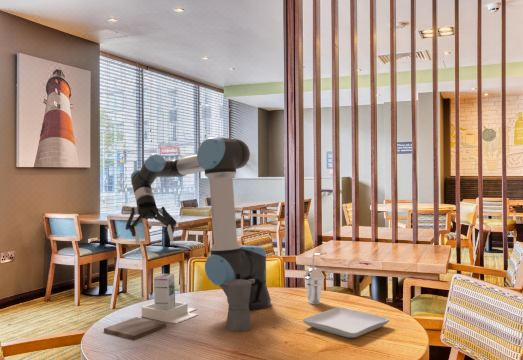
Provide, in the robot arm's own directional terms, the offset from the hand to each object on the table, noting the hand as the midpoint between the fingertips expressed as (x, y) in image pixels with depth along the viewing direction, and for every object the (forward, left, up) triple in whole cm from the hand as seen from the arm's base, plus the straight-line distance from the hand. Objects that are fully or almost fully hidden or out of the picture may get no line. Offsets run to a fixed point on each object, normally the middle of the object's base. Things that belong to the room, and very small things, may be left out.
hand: (155, 240), depth 184 cm
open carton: (-14, +5, -25) cm, 30 cm away
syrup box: (-12, +8, -26) cm, 29 cm away
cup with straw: (-52, -34, -26) cm, 67 cm away
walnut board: (-15, +25, -25) cm, 38 cm away
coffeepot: (-44, +5, -26) cm, 51 cm away
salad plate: (-74, -12, -26) cm, 79 cm away
